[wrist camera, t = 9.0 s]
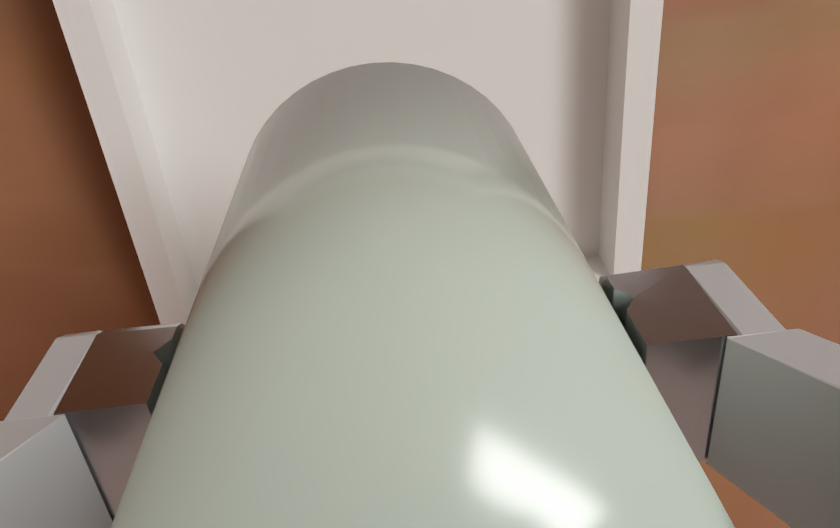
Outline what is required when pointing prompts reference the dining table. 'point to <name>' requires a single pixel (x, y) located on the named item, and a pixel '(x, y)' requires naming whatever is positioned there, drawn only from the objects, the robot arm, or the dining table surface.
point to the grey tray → (344, 47)
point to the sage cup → (405, 340)
